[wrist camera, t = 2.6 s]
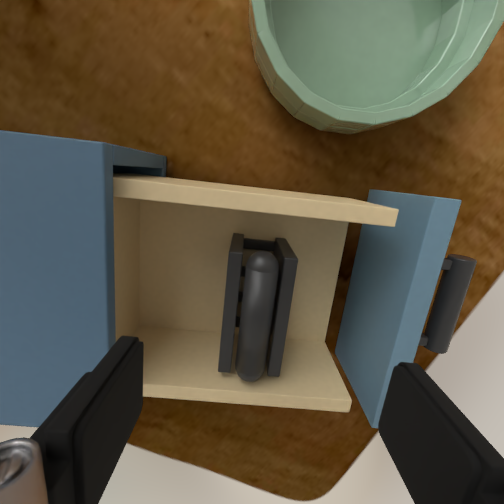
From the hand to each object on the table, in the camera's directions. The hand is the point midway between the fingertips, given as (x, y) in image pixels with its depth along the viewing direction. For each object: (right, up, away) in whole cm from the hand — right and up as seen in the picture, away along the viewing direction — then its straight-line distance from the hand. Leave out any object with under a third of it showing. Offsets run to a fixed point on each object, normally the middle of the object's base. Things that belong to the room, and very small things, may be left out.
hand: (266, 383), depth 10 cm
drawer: (+2, +4, +10) cm, 10 cm away
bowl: (+5, +18, +7) cm, 20 cm away
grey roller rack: (0, +3, +9) cm, 9 cm away
